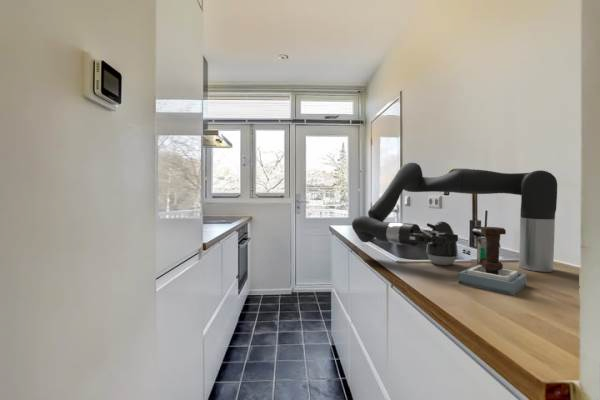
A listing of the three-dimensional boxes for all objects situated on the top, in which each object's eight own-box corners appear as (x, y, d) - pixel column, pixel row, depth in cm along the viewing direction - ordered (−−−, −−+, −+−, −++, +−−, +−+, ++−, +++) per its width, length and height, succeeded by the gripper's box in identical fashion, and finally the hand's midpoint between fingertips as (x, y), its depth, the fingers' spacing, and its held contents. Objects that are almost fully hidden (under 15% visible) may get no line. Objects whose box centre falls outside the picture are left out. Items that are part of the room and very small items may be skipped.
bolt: (506, 284, 81) (508, 229, 81) (485, 283, 82) (487, 228, 82) (497, 279, 87) (498, 227, 87) (477, 277, 88) (479, 226, 88)
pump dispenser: (422, 259, 115) (423, 219, 114) (451, 261, 113) (453, 220, 112) (429, 266, 105) (430, 222, 104) (461, 267, 103) (462, 223, 102)
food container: (502, 275, 94) (503, 243, 94) (480, 272, 97) (481, 241, 96) (496, 266, 105) (497, 238, 105) (476, 264, 108) (477, 236, 108)
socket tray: (474, 275, 94) (475, 263, 94) (526, 285, 84) (526, 271, 84) (458, 283, 85) (458, 269, 85) (513, 295, 75) (513, 280, 75)
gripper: (413, 242, 109) (460, 249, 97) (391, 246, 100) (441, 254, 88) (413, 221, 109) (461, 225, 97) (392, 224, 100) (442, 229, 88)
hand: (452, 239), depth 92 cm, fingers open, 8 cm apart
